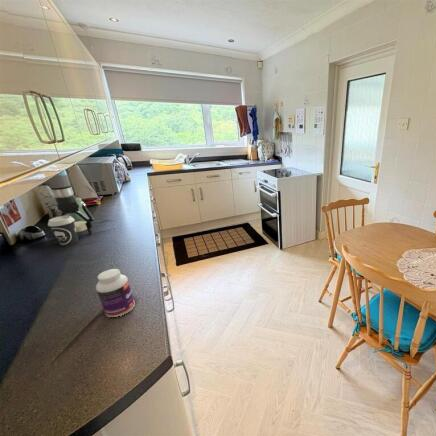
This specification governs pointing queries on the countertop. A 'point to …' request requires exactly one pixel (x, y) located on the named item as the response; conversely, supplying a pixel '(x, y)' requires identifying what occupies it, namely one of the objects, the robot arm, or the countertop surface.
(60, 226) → the coffee cup
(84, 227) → the thermos lid
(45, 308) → the countertop surface
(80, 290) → the countertop surface
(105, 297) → the pill bottle
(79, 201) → the thermos
